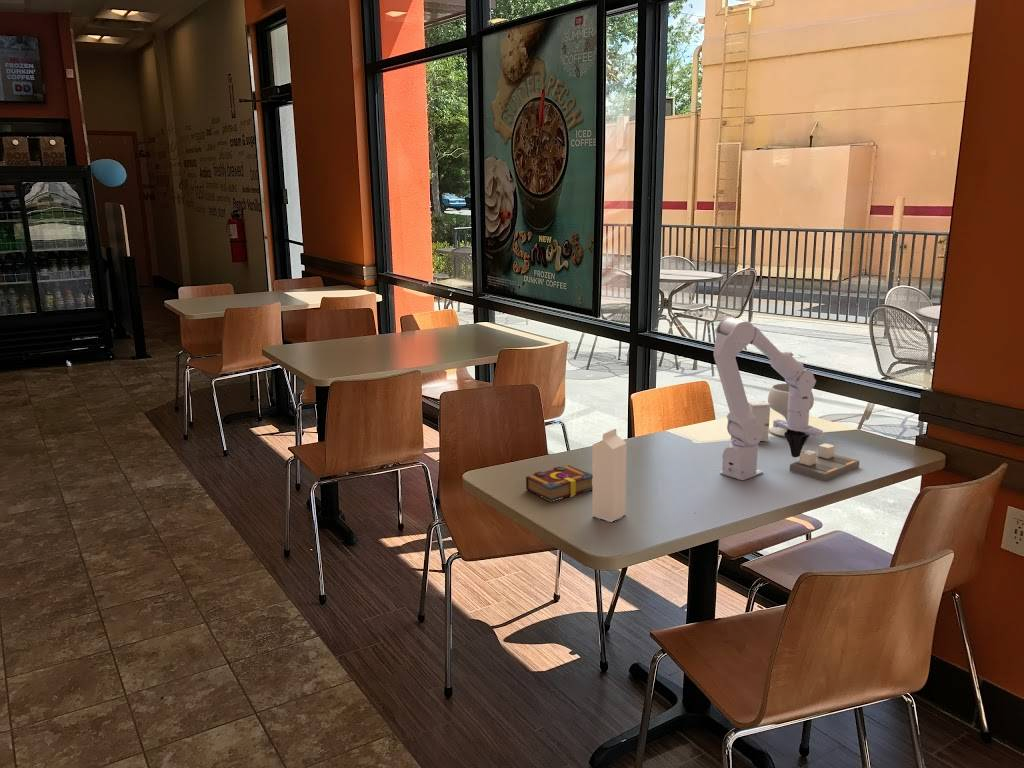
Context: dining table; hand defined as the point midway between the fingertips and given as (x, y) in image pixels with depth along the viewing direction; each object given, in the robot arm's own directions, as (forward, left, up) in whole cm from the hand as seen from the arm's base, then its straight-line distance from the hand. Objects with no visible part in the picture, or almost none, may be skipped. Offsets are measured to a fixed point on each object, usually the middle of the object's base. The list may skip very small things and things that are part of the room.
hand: (795, 456), depth 235 cm
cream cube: (+9, -4, -1) cm, 10 cm away
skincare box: (+13, +23, -3) cm, 26 cm away
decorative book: (-62, +30, -4) cm, 69 cm away
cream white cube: (0, -4, -1) cm, 4 cm away
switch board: (+4, -6, -3) cm, 8 cm away
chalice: (+27, +21, -3) cm, 34 cm away
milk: (-65, +9, -3) cm, 66 cm away
